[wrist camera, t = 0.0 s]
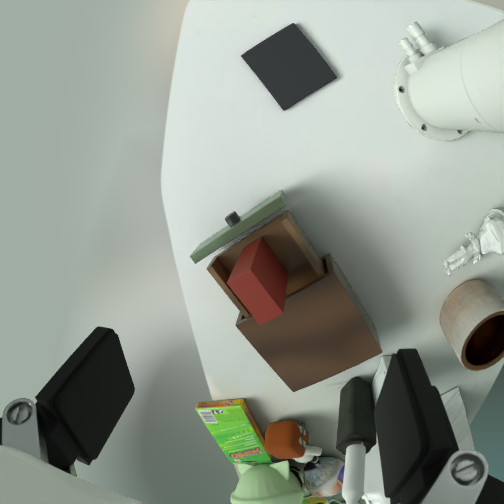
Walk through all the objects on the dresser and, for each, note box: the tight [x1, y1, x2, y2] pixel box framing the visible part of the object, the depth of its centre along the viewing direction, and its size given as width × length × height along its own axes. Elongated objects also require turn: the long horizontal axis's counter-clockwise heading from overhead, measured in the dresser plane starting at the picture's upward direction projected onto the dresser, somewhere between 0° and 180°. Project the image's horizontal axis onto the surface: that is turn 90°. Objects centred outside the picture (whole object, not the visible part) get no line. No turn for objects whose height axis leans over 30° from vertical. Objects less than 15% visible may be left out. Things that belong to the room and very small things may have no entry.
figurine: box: [443, 209, 504, 276], centre depth 35 cm, size 7×15×7 cm, turn 130°
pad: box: [241, 23, 337, 111], centre depth 33 cm, size 9×8×1 cm
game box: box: [195, 399, 272, 464], centre depth 57 cm, size 3×10×20 cm
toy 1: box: [264, 420, 322, 464], centre depth 54 cm, size 9×7×15 cm
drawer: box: [190, 190, 328, 318], centre depth 40 cm, size 15×13×4 cm
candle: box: [336, 377, 377, 504], centre depth 38 cm, size 5×5×25 cm
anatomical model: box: [303, 457, 345, 497], centre depth 55 cm, size 10×12×10 cm
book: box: [227, 237, 288, 325], centre depth 37 cm, size 6×3×10 cm, turn 37°
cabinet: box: [236, 253, 382, 392], centre depth 43 cm, size 15×15×6 cm
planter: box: [440, 280, 504, 371], centre depth 37 cm, size 11×11×10 cm
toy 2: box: [231, 460, 305, 504], centre depth 56 cm, size 20×19×15 cm
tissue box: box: [362, 387, 474, 504], centre depth 44 cm, size 20×16×25 cm
